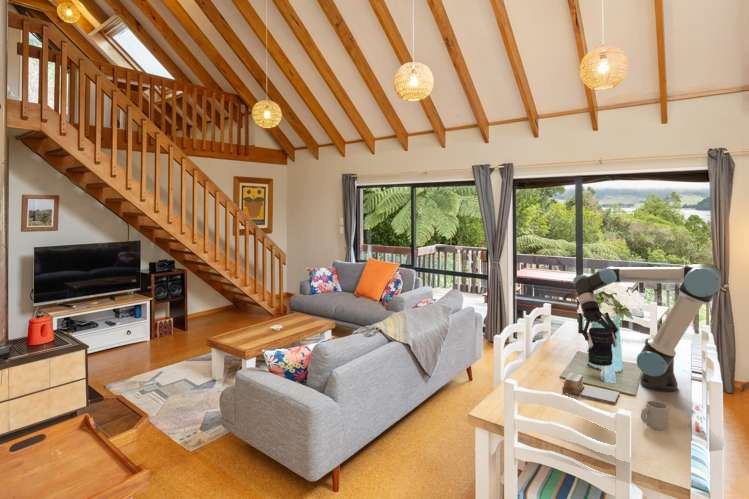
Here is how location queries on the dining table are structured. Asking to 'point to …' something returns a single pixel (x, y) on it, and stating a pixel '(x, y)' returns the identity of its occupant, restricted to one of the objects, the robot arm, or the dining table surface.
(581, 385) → the brown wooden block
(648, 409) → the cup
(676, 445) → the dining table surface
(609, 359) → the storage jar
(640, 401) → the dining table surface
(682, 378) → the dining table surface
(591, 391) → the slate board
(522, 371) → the dining table surface
